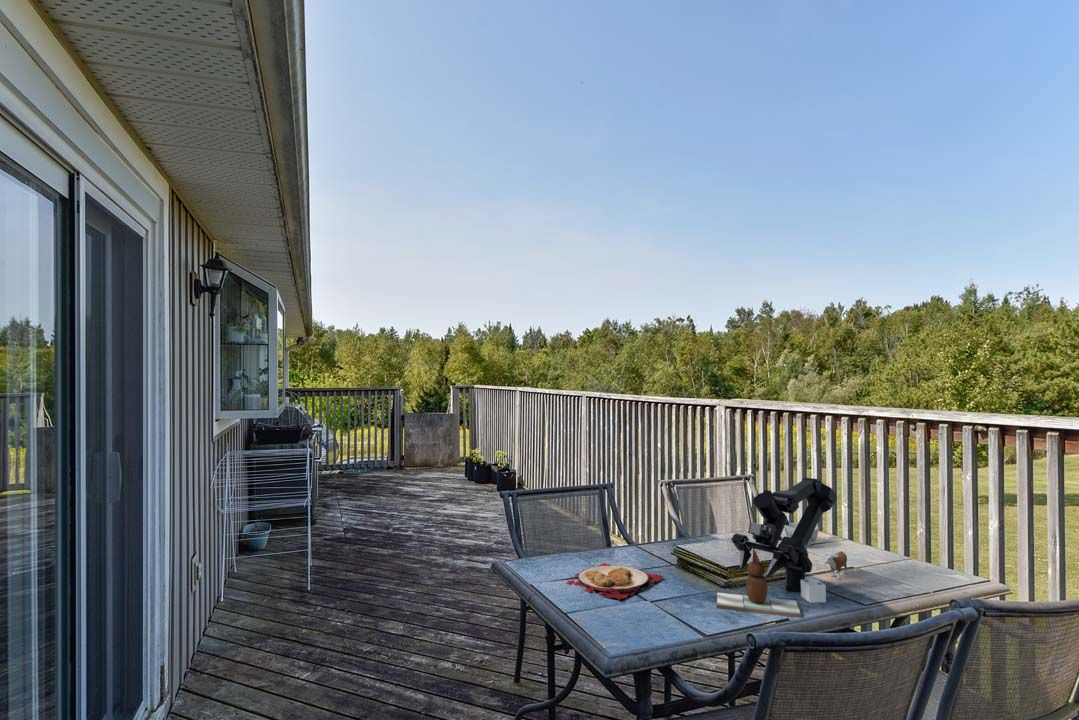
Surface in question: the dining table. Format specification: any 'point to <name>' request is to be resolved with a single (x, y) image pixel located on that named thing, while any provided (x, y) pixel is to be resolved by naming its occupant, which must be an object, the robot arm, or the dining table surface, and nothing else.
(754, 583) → the wooden figurine
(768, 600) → the board
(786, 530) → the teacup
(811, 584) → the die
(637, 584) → the plate with food
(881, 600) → the dining table surface
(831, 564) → the bull figurine
